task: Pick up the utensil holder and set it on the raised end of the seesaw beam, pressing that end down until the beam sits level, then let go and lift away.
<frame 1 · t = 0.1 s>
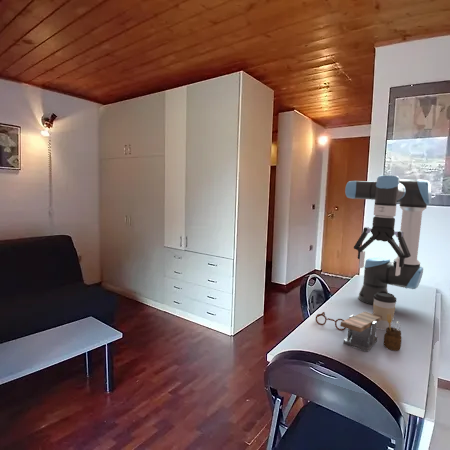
hand: (378, 271, 127), 28 cm above the table, tool pointing down, fingers open, 13 cm apart
coffee cup: (381, 327, 143), on the table
beam: (362, 320, 127), point 9 cm above the table, hinge at -8.0°
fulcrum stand: (360, 342, 128), on the table
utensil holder: (391, 347, 124), on the table
glasses: (334, 323, 146), on the table
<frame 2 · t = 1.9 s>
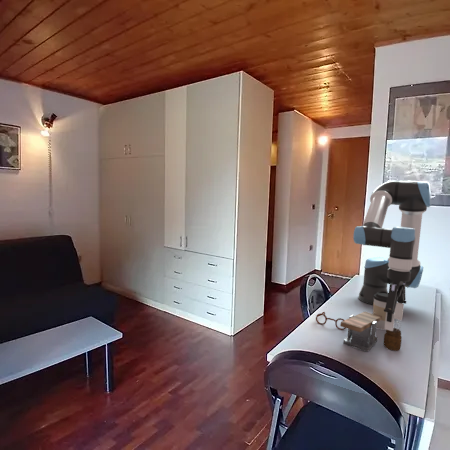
hand: (393, 324, 123), 9 cm above the table, tool pointing down, fingers open, 13 cm apart
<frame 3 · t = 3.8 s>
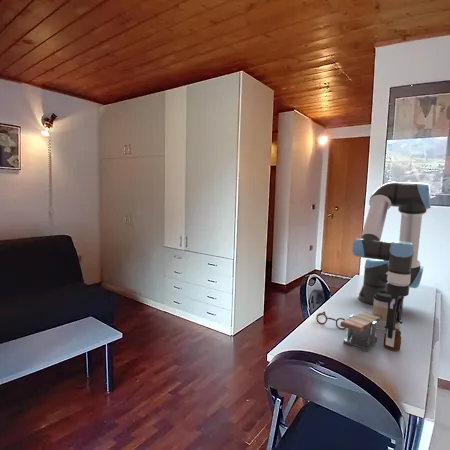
hand: (391, 342, 124), 2 cm above the table, tool pointing down, fingers closed on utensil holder, 6 cm apart
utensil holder: (391, 348, 124), on the table, touching gripper
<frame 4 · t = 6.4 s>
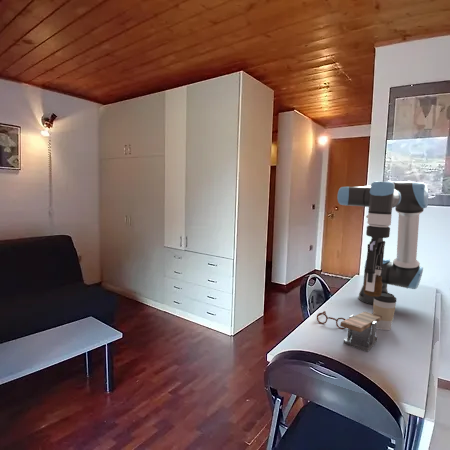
hand: (372, 288, 119), 23 cm above the table, tool pointing down, fingers closed on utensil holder, 6 cm apart
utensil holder: (372, 294, 119), point 21 cm above the table, touching gripper
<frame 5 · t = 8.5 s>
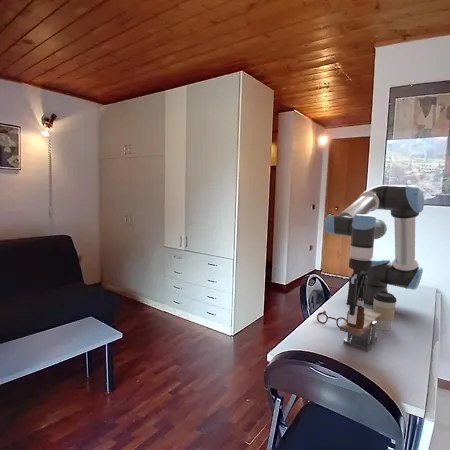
hand: (354, 320, 119), 12 cm above the table, tool pointing down, fingers closed on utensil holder, 6 cm apart
beam: (362, 320, 126), point 9 cm above the table, hinge at -1.6°, touching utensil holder
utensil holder: (354, 325, 119), point 10 cm above the table, touching beam, gripper
when the fingers open (12 cm above the table, at t = 9.4 s): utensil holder stays where it is, resting on beam.
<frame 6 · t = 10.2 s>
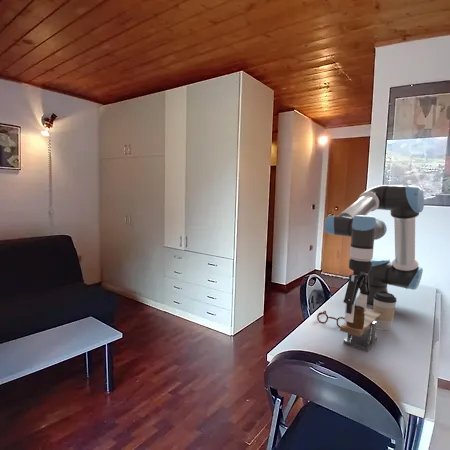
hand: (355, 316, 119), 13 cm above the table, tool pointing down, fingers open, 13 cm apart
beam: (362, 320, 126), point 9 cm above the table, hinge at -1.3°, touching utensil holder
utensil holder: (354, 326, 119), point 10 cm above the table, touching beam
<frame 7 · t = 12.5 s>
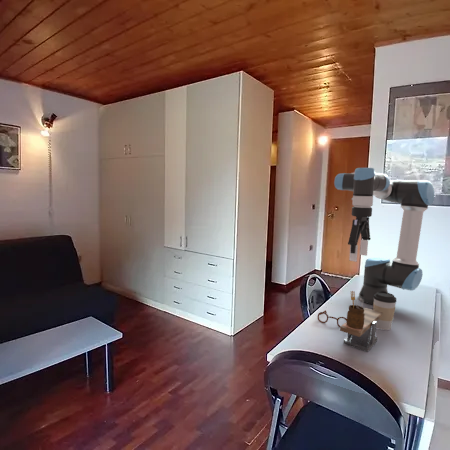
hand: (358, 258, 135), 31 cm above the table, tool pointing down, fingers open, 13 cm apart
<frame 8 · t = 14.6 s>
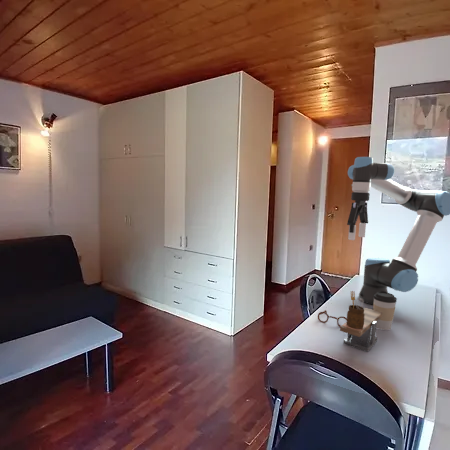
hand: (356, 238, 150), 37 cm above the table, tool pointing down, fingers open, 13 cm apart
at the end: beam at -1° (first picture: -8°); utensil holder inside the target area on the beam (0.3 cm from its centre), point 1.6 cm above the beam's base; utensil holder tilted 1° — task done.
